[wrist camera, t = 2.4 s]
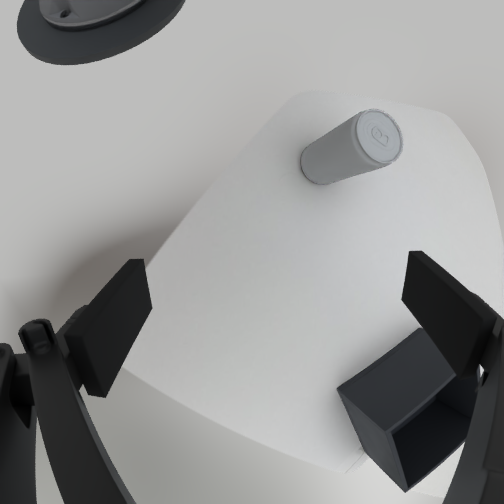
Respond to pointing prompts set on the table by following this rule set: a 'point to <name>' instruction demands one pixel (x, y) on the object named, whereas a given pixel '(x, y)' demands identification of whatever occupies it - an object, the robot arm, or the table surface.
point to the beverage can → (353, 148)
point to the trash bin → (410, 409)
